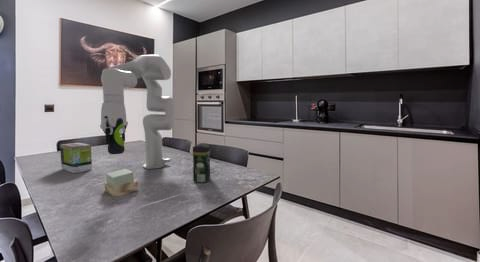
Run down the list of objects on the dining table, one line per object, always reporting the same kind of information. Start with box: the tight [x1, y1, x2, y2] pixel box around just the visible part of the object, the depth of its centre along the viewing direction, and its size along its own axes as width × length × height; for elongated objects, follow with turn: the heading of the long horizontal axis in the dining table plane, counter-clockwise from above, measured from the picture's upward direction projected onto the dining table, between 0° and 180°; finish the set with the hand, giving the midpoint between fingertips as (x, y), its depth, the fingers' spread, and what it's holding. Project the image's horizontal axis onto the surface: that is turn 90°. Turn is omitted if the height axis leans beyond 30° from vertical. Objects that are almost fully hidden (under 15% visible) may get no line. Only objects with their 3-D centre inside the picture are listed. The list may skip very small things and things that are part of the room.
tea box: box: [59, 142, 93, 174], centre depth 133 cm, size 15×10×15 cm, turn 58°
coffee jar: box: [192, 142, 211, 184], centre depth 116 cm, size 10×8×19 cm
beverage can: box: [107, 118, 125, 155], centre depth 98 cm, size 6×6×15 cm
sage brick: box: [105, 168, 135, 187], centre depth 100 cm, size 8×8×4 cm
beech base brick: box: [103, 178, 139, 198], centre depth 101 cm, size 10×10×5 cm
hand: (116, 142), depth 99 cm, fingers closed on beverage can, 6 cm apart
